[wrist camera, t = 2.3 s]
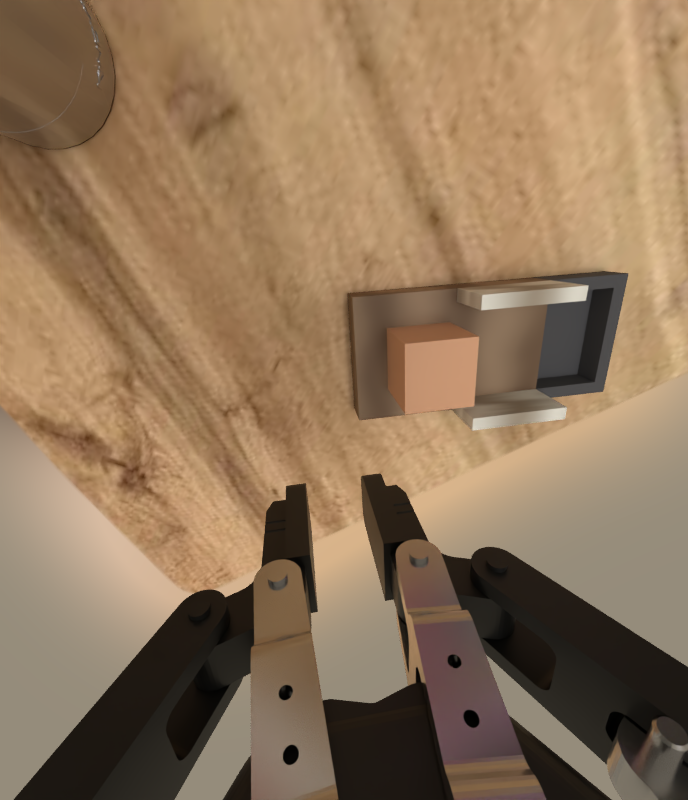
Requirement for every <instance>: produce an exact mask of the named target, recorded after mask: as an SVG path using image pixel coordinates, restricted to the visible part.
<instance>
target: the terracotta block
mask: <svg viewBox="0 0 688 800" xmlns="http://www.w3.org/2000/svg"><path fill="white" fill-rule="evenodd" d="M478 347H479V336H477V335H475V334H473V333H471V332H469V331H467V330H465V329H463V328H461V327H459V326H456V325H454V324H452V323H450V322H446V323H436V324H425V325H415V326H404V327H394V328H387V365H388V390H389V391H390V393H391V394H392V396H393V397H394V399H395V400H396V402H397V403H398V405H399V406H400V408H401V409H402V411H403V412H404V414H413V413H422V412H430V411H439V410H447V409H456V408H464V407H473V406H474V401H475V388H476V374H477V361H478Z"/></svg>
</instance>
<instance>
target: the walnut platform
mask: <svg viewBox="0 0 688 800" xmlns="http://www.w3.org/2000/svg"><path fill="white" fill-rule="evenodd" d="M588 286H589V285H582V284H575V283H567V282H560V281H553V280H546V279H538V278H522V279H510V280H498V281H486V282H475V283H463V284H451V285H440V286H428V287H416V288H405V289H393V290H381V291H369V292H358V293H348V307H349V324H350V340H351V357H352V373H353V390H354V406H355V411H356V413H357V416H358V418H359V420H366V419H375V418H383V417H392V416H400V415H408V414H404V412H403V411H402V409H401V408H400V406H399V405H398V403H397V402H396V400H395V399H394V397H393V396H392V394H391V393H390V391H389V390H388V365H387V328H394V327H404V326H415V325H425V324H436V323H446V322H450V323H452V324H454V325H456V326H459V327H461V328H463V329H465V330H467V331H469V332H471V333H473V334H475V335H477V336H479V347H478V361H477V374H476V388H475V401H474V406H473V407H464V408H456V409H452V410H453V411H454V412H455V413H456V414H457V415H458V416H459V417H460V418H461V419H462V420H463V422H464V423H465V424H466V425H467V426H468V427H469V428H470V429H471V430H472V431H473V430H481V429H489V428H497V427H505V426H513V425H521V424H529V423H537V422H545V421H553V420H561V419H565V415H566V410H567V407H566V406H564V405H562V404H560V403H559V402H557V401H555V400H554V399H552V398H550V397H549V396H547V395H545V394H544V393H542V392H540V391H538V390H537V389H536V384H537V377H538V370H539V363H540V355H541V348H542V341H543V334H544V327H545V320H546V313H547V306H548V304H555V303H566V302H576V301H586V297H587V292H588ZM447 410H451V409H447ZM439 411H442V410H439ZM430 412H434V411H430ZM422 413H425V412H422ZM413 414H417V413H413Z"/></svg>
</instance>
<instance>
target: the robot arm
mask: <svg viewBox="0 0 688 800" xmlns="http://www.w3.org/2000/svg"><path fill="white" fill-rule="evenodd" d="M114 82H115V74H114V67H113V61H112V55H111V52H110V49H109V46H108V43H107V40H106V36H105V34H104V32H103V30H102V28H101V26H100V24H99V22H98V20H97V18H96V16H95V14H94V13H93V11H92V10H91V9H90V7H89V6H88V4H87V3H86V2H85V0H0V134H1V135H4V136H7V137H10V138H12V139H15V140H18V141H20V142H23V143H25V144H28V145H31V146H35V147H40V148H46V149H65V148H68V147H72V146H75V145H79V144H81V143H82V142H84V141H86V140H87V139H89V138H91V137H92V136H93V135H94V134H95V133H96V132H97V131H98V130H99V129H100V127H101V126H102V125H103V123H104V122H105V120H106V118H107V116H108V114H109V112H110V109H111V105H112V101H113V97H114ZM361 487H362V504H363V516H364V522H365V527H366V530H367V534H368V538H369V542H370V545H371V549H372V552H373V556H374V560H375V564H376V568H377V571H378V575H379V579H380V583H381V586H382V590H383V594H384V598H385V601H387V600H393V599H394V602H395V606H396V609H397V611H396V612H397V625H398V630H399V636H400V642H401V647H402V654H403V659H404V665H405V670H406V676H407V683H408V686H407V687H405V688H403V689H401V690H399V691H397V692H395V693H394V694H392V695H390V696H388V697H386V698H384V699H382V700H380V701H378V702H376V703H362V702H353V701H343V700H334V699H328V700H323V701H322V695H321V689H320V683H319V677H318V670H317V664H316V658H315V652H314V646H313V640H312V633H311V613H313V612H317V611H318V610H317V597H316V583H315V571H314V558H313V544H312V531H311V521H310V513H309V505H308V497H307V489H306V483H304V484H297V485H289V486H286V500H282V501H274V502H272V504H271V506H270V507H269V509H268V510H267V512H266V525H265V534H264V545H263V557H262V567H261V569H260V570H259V571H258V572H257V574H256V576H255V578H254V581H253V583H252V584H250V585H249V586H248V587H246V588H245V589H243V590H241V591H239V592H237V593H234V594H232V595H230V596H228V597H224V595H223V594H222V593H220V592H219V591H216V590H203V591H199V592H197V593H194V594H192V595H191V596H189V597H188V598H186V599H185V600H184V601H183V602H182V603H181V604H180V605H179V606H178V607H177V609H176V610H175V611H174V612H173V613H172V614H171V616H170V617H169V618H168V619H167V620H166V622H165V623H164V624H163V625H162V626H161V627H160V628H159V630H158V631H157V632H156V633H155V634H154V636H153V637H152V638H151V639H150V640H149V641H148V643H147V644H146V645H145V646H144V647H143V648H142V650H141V651H140V652H139V653H138V654H137V655H136V657H135V658H134V659H133V660H132V661H131V663H130V664H129V665H128V666H127V667H126V668H125V670H124V671H123V672H122V673H121V674H120V675H119V677H118V678H117V679H116V680H115V681H114V682H113V684H112V685H111V686H110V687H109V688H108V690H107V691H106V692H105V693H104V694H103V696H102V697H101V698H100V699H99V700H98V701H97V702H96V704H95V705H94V706H93V707H92V708H91V710H90V711H89V712H88V713H87V714H86V715H85V717H84V718H83V719H82V720H81V722H79V724H78V725H77V726H76V727H75V728H74V729H73V731H72V732H71V733H70V734H69V735H68V736H67V738H66V739H65V740H64V741H63V742H62V743H61V745H60V746H59V747H58V748H57V749H56V751H55V752H54V753H53V754H52V755H51V756H50V758H49V759H48V760H47V761H46V762H45V763H44V765H43V766H42V767H41V768H40V769H39V771H38V772H37V773H36V774H35V775H34V776H33V778H32V779H31V780H30V781H29V782H28V783H27V785H26V786H25V787H24V788H23V790H21V792H20V793H19V794H18V795H17V796H16V797H15V799H14V800H174V799H175V798H176V796H177V794H178V792H179V791H180V789H181V787H182V785H183V784H184V782H185V780H186V778H187V777H188V775H189V773H190V771H191V770H192V768H193V766H194V764H195V762H196V761H197V759H198V757H199V755H200V754H201V752H202V750H203V749H204V747H205V745H206V743H207V742H208V740H209V738H210V736H211V735H212V733H213V731H214V729H215V728H216V726H217V724H218V722H219V720H220V719H221V717H222V715H223V713H224V712H225V710H226V708H227V707H228V705H229V703H230V701H231V700H232V698H233V696H234V694H235V693H236V691H237V689H238V687H239V686H240V684H241V681H242V679H243V677H244V676H246V675H248V674H250V673H251V756H250V757H249V758H248V760H247V761H246V763H245V764H244V766H243V768H242V769H241V770H240V772H239V774H238V775H237V777H236V779H235V781H234V782H233V784H232V785H231V787H230V789H229V790H228V792H227V794H226V795H225V797H224V799H223V800H611V799H610V798H609V797H608V796H606V795H605V794H604V793H603V792H601V791H600V790H599V789H598V788H597V787H596V786H594V785H593V784H592V783H591V782H589V781H588V780H587V779H586V778H585V777H583V776H582V775H581V774H580V773H579V772H577V771H576V770H575V769H574V768H572V767H571V766H570V765H569V764H568V763H566V762H565V761H564V760H563V759H561V758H560V757H559V756H558V755H557V754H555V753H554V752H553V751H552V750H550V749H549V748H548V747H547V746H546V745H544V744H543V743H542V742H541V741H540V740H538V739H537V738H536V737H535V736H533V735H532V734H531V733H530V732H529V731H527V730H526V729H525V728H524V727H522V726H521V725H520V724H519V723H518V722H517V721H515V720H514V719H513V718H512V717H510V716H509V715H508V713H507V710H506V707H505V705H504V702H503V699H502V697H501V694H500V691H499V689H498V686H497V683H496V681H495V678H494V676H493V673H492V670H491V668H490V665H489V662H488V660H487V657H486V655H487V656H488V657H490V658H491V659H492V660H493V661H494V662H495V663H496V664H497V665H498V666H499V667H500V668H502V669H503V670H504V671H505V672H506V673H507V674H508V675H509V676H510V677H511V678H513V679H514V680H515V681H516V682H517V683H518V684H519V685H520V686H521V687H522V688H523V689H525V690H526V691H527V692H528V693H529V694H530V695H531V696H532V697H533V698H534V699H536V700H537V701H538V702H539V703H540V704H541V705H542V706H543V707H545V709H547V710H548V711H549V712H550V713H551V714H552V715H553V716H554V717H555V718H556V719H557V720H559V721H560V722H561V723H562V724H563V725H564V726H565V727H566V728H567V729H568V730H570V731H571V732H572V733H573V734H574V735H575V736H576V737H577V738H578V739H579V740H580V741H582V742H583V743H584V744H585V745H586V746H587V747H588V748H589V749H590V750H591V751H593V752H594V753H595V754H596V755H597V756H598V757H599V758H600V759H601V760H602V761H603V762H605V763H606V764H607V767H608V772H609V776H610V779H611V781H612V783H613V786H614V788H615V789H616V791H617V792H618V794H619V796H620V797H621V799H622V800H688V667H687V666H685V665H684V664H682V663H681V662H679V661H678V660H676V659H674V658H673V657H671V656H670V655H668V654H666V653H665V652H663V651H662V650H660V649H659V648H657V647H656V646H654V645H653V644H651V643H650V642H648V641H646V640H645V639H643V638H642V637H640V636H638V635H637V634H635V633H634V632H632V631H631V630H629V629H628V628H626V627H625V626H623V625H621V624H620V623H618V622H617V621H615V620H614V619H612V618H611V617H609V616H607V615H606V614H604V613H603V612H601V611H599V610H598V609H596V608H595V607H593V606H592V605H590V604H588V603H587V602H585V601H584V600H583V599H581V598H579V597H578V596H576V595H575V594H573V593H572V592H570V591H568V590H567V589H565V588H564V587H562V586H561V585H559V584H558V583H556V582H554V581H553V580H551V579H550V578H548V577H546V576H545V575H543V574H542V573H540V572H539V571H537V570H536V569H534V568H533V567H531V566H530V565H528V564H526V563H525V562H523V561H522V560H520V559H519V558H517V557H515V556H514V555H512V554H511V553H509V552H507V551H505V550H503V549H500V548H495V547H485V548H481V549H478V550H477V551H476V552H474V554H473V556H472V558H471V559H465V558H456V557H451V556H447V555H444V554H442V553H441V552H440V550H439V549H438V548H437V547H436V546H435V545H433V544H432V543H430V542H429V541H428V539H427V537H426V535H425V533H424V531H423V529H422V527H421V525H420V522H419V520H418V518H417V516H416V514H415V512H414V509H413V507H412V506H411V504H410V501H409V499H408V496H407V494H406V492H404V491H403V490H402V489H401V488H399V487H398V486H397V485H392V486H386V485H385V483H384V480H383V478H382V475H381V474H373V475H365V476H361Z"/></svg>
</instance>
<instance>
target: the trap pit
mask: <svg viewBox="0 0 688 800" xmlns="http://www.w3.org/2000/svg"><path fill="white" fill-rule="evenodd" d="M533 278H538V279H546V280H553V281H560V282H567V283H575V284H582V285H589V286H588V292H587V297H586V301H576V302H566V303H555V304H548V306H547V313H546V320H545V327H544V334H543V341H542V348H541V355H540V363H539V370H538V377H537V384H536V389H537V390H538V391H540V392H542V393H544V394H545V395H547V396H549V397H550V398H552V397H561V396H569V395H578V394H586V393H595V392H603V390H604V385H605V380H606V376H607V371H608V366H609V362H610V357H611V352H612V348H613V343H614V338H615V334H616V329H617V325H618V320H619V315H620V311H621V306H622V301H623V297H624V292H625V287H626V283H627V278H628V273H617V272H605V271H603V272H592V273H580V274H568V275H557V276H545V277H533Z"/></svg>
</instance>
